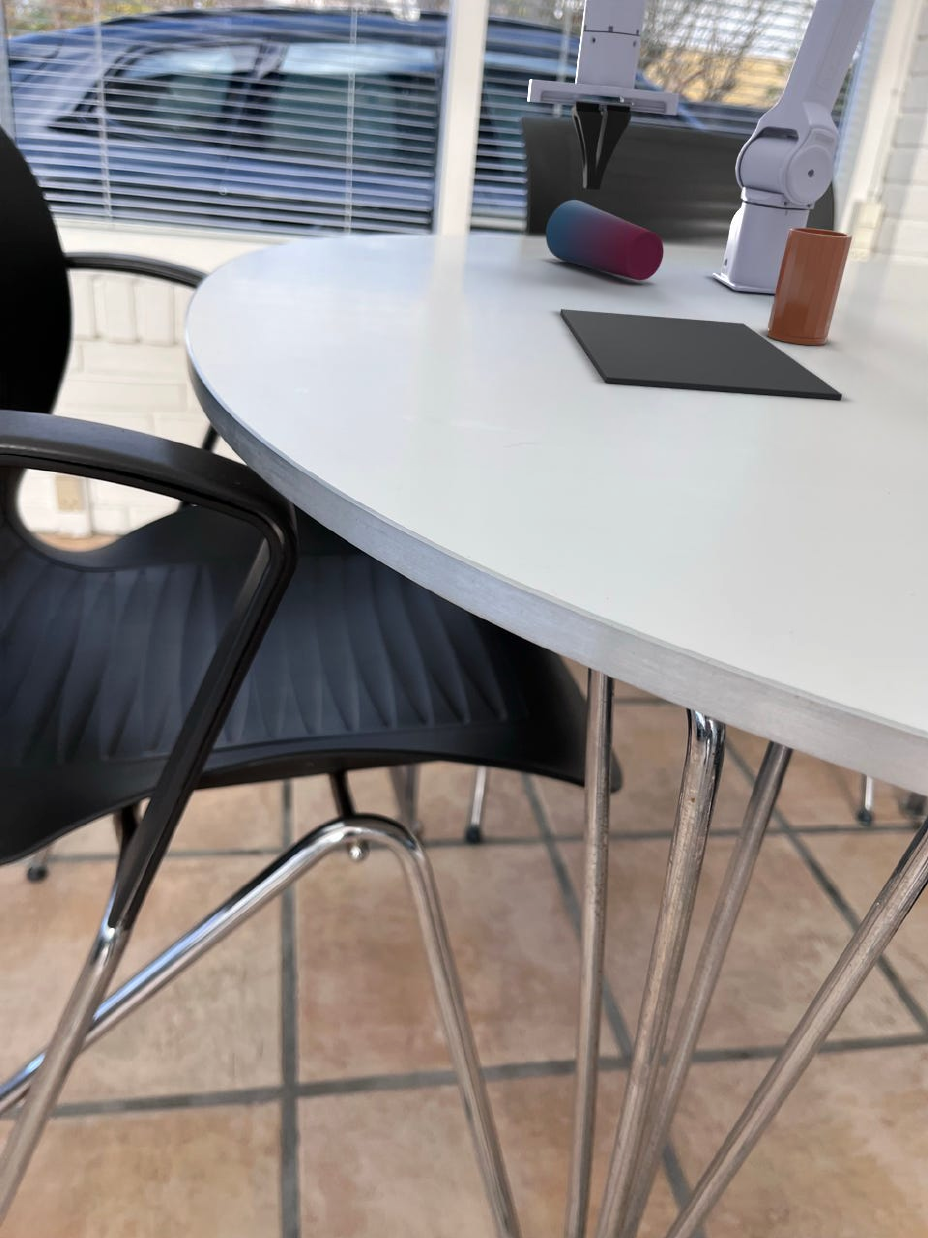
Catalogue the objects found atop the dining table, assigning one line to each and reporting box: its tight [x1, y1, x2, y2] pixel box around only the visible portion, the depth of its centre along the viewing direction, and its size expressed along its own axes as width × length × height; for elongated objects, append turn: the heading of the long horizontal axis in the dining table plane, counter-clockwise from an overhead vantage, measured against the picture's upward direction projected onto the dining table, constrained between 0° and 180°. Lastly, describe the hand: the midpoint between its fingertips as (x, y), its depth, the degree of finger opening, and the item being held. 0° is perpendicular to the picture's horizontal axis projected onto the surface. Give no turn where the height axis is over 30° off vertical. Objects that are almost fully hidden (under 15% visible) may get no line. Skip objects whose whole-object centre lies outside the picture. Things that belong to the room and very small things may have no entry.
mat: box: [559, 308, 843, 401], centre depth 82 cm, size 24×17×1 cm
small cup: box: [766, 227, 853, 346], centre depth 89 cm, size 5×5×9 cm
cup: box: [545, 199, 665, 281], centre depth 115 cm, size 7×7×15 cm
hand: (591, 188), depth 103 cm, fingers closed
